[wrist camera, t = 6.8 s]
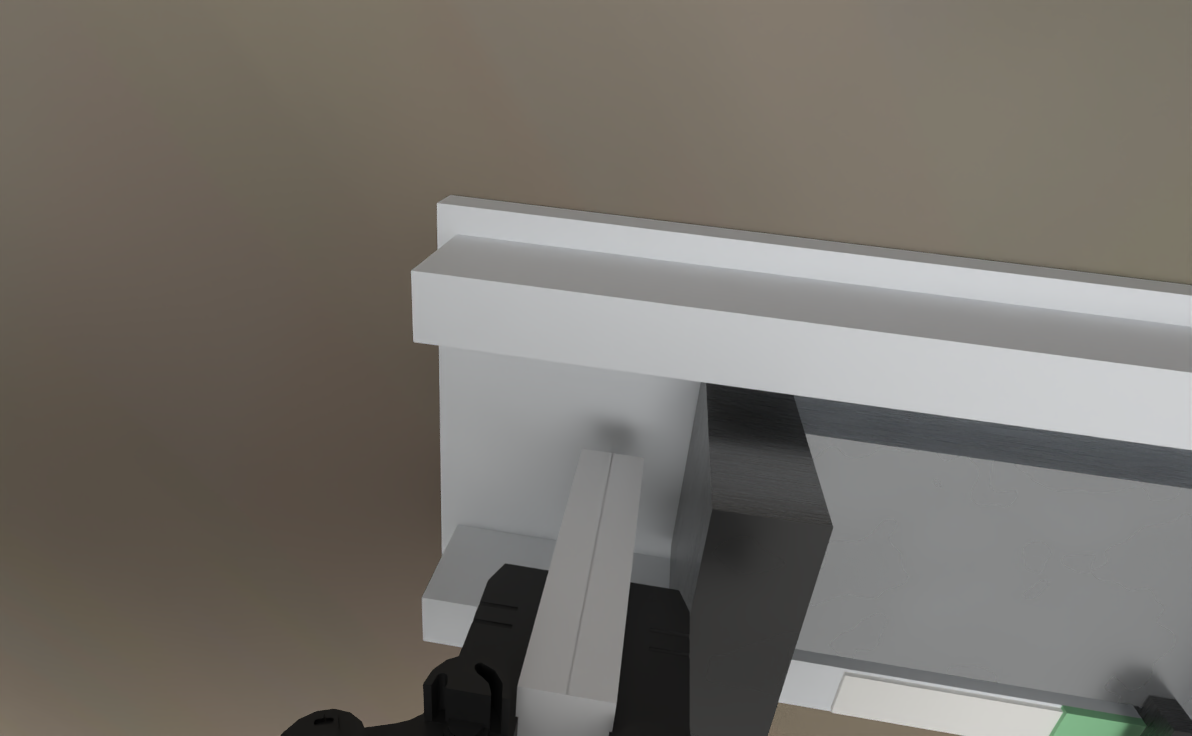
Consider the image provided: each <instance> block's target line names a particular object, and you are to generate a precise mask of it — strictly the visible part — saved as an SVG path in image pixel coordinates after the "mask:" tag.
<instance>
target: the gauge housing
mask: <svg viewBox="0 0 1192 736" xmlns="http://www.w3.org/2000/svg"><path fill="white" fill-rule="evenodd" d="M437 244H438V250H436V251H435V252H434V253H433V254H431V255H430V256H429V257H428V258H426V259H425V260H424V261H423V262H421V263H420V264H419V265H417V266H416V267H415V268H414V269H412V270H411V284H412V315H413V342H417V343H424V344H431V345H439V386H440V457H441V528H442V557H441V559H440V561H439V563H438V565H437V567H436V569H435V571H434V573H433V576H432V578H431V580H430V582H429V584H428V586H427V588H426V590H425V592H424V594H423V596H422V621H423V641H428V642H434V643H439V644H445V645H451V646H457V647H463V644H464V642H465V639H466V637H467V634H468V631H469V629H470V626H471V623H473V618H474V616H475V613H476V610H477V608H478V605H479V604H480V600H481V597H482V595H483V592H484V589H485V587H486V584H487V582H488V580H489V579H490V578H491V577H492V576H493V575H494V574H495V573H496V572H497V571H498V570H499V569H500V568H501V567H502V566H503V565H504V564H505V563H506V564H512V565H519V566H525V567H531V568H537V569H543V570H549V568H550V564H551V561H552V557H553V553H554V550H555V546H556V542H557V538H558V535H559V531H560V527H561V524H562V520H563V516H564V513H565V509H566V505H567V502H568V498H569V494H570V491H571V487H572V483H573V480H574V476H575V472H576V469H577V465H578V461H579V458H580V454H581V450H582V449H589V450H595V451H602V452H609V453H615V454H622V455H629V456H635V457H642V458H644V464H643V473H642V482H641V491H640V500H639V509H638V517H637V526H636V535H635V544H634V553H633V562H632V571H631V580H630V582H632V583H638V584H644V585H651V586H657V587H663V588H669V583H670V556H671V543H672V538H673V532H674V527H675V521H676V516H677V510H678V505H679V499H680V494H681V488H682V483H683V477H684V472H685V466H686V461H687V455H688V450H689V444H690V439H691V433H692V428H693V422H694V417H695V412H696V406H697V401H698V395H699V390H700V384H701V382H705V383H712V384H719V385H726V386H733V387H741V388H748V389H755V390H762V391H769V392H777V393H784V394H791V395H798V396H805V397H813V398H820V399H827V400H834V401H841V402H848V403H856V404H863V405H870V406H877V407H884V408H892V409H899V410H906V411H913V412H920V413H928V414H935V415H942V416H949V417H956V418H964V419H971V420H978V421H985V422H992V423H1000V424H1007V425H1014V426H1021V427H1028V428H1035V429H1043V430H1050V431H1057V432H1064V433H1071V434H1079V435H1086V436H1093V437H1100V438H1107V439H1115V440H1122V441H1129V442H1136V443H1143V444H1151V445H1158V446H1165V447H1172V448H1179V449H1186V450H1192V285H1187V284H1179V283H1170V282H1162V281H1154V280H1146V279H1138V278H1129V277H1121V276H1113V275H1105V274H1097V273H1088V272H1080V271H1072V270H1064V269H1055V268H1047V267H1039V266H1031V265H1023V264H1014V263H1006V262H998V261H990V260H981V259H973V258H965V257H957V256H949V255H940V254H932V253H924V252H916V251H908V250H899V249H891V248H883V247H875V246H866V245H858V244H850V243H842V242H834V241H825V240H817V239H809V238H801V237H792V236H784V235H776V234H768V233H760V232H751V231H743V230H735V229H727V228H718V227H710V226H702V225H694V224H686V223H677V222H669V221H661V220H653V219H645V218H636V217H628V216H620V215H612V214H603V213H595V212H587V211H579V210H571V209H562V208H554V207H546V206H538V205H529V204H521V203H513V202H505V201H497V200H488V199H480V198H472V197H464V196H455V195H449V196H448V197H446V198H444V199H443V200H441V201H439V202H438V203H437ZM778 702H780V703H786V704H792V705H798V706H803V707H809V708H815V709H821V710H826V711H831V713H837V714H842V715H848V716H854V717H860V718H865V719H871V720H877V721H883V722H889V723H894V724H900V725H906V726H912V727H917V728H923V729H929V730H935V731H941V732H946V733H952V734H958V735H964V736H1140V735H1141V733H1142V732H1143V731H1144V729H1145V728H1146V724H1145V723H1144V721H1143V720H1142V718H1141V717H1140V715H1139V714H1138V712H1137V711H1136V709H1135V708H1134V706H1133V705H1128V704H1122V703H1116V702H1110V701H1104V700H1098V699H1092V698H1086V697H1080V696H1074V695H1068V694H1062V693H1056V692H1050V691H1044V690H1038V689H1032V688H1026V687H1020V686H1014V685H1008V684H1002V683H996V682H990V681H984V680H978V679H972V678H966V677H960V676H954V675H948V674H942V673H936V672H930V671H924V670H918V669H912V668H906V667H900V666H894V665H888V664H882V663H876V662H870V661H864V660H858V659H852V658H846V657H840V656H834V655H828V654H822V653H816V652H810V651H804V650H798V649H795V650H794V654H793V657H792V660H791V663H790V666H789V669H788V673H787V676H786V679H785V682H784V685H783V688H782V692H781V695H780V698H779V701H778ZM1187 715H1188V714H1187ZM1188 716H1189V717H1190V719H1191V720H1192V715H1188Z"/></svg>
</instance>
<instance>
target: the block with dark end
mask: <svg viewBox="0 0 1192 736" xmlns="http://www.w3.org/2000/svg"><path fill="white" fill-rule="evenodd" d="M669 589H675V590H679V591H680V593H681V595H682V597H683V599H684V601H685V603H686V605H687V607H688V609H689V611H690V636H689V639H690V654H689V658H690V734H691V736H768V733H769V730H770V726H771V723H772V720H773V717H774V714H775V711H776V707H777V704H778V701H779V698H780V695H781V692H782V688H783V685H784V682H785V679H786V676H787V673H788V669H789V666H790V663H791V660H792V657H793V654H794V650H795V649H798V650H804V651H810V652H816V653H822V654H828V655H834V656H840V657H846V658H852V659H858V660H864V661H870V662H876V663H882V664H888V665H894V666H900V667H906V668H912V669H918V670H924V671H930V672H936V673H942V674H948V675H954V676H960V677H966V678H972V679H978V680H984V681H990V682H996V683H1002V684H1008V685H1014V686H1020V687H1026V688H1032V689H1038V690H1044V691H1050V692H1056V693H1062V694H1068V695H1074V696H1080V697H1086V698H1092V699H1098V700H1104V701H1110V702H1116V703H1122V704H1128V705H1133V706H1134V708H1135V709H1136V711H1137V712H1138V714H1139V715H1140V717H1141V718H1142V720H1143V721H1144V723H1145V724H1146V728H1145V729H1144V731H1143V732H1142V733H1141V735H1140V736H1192V720H1191V719H1190V717H1189V716H1188V715H1192V450H1186V449H1179V448H1172V447H1165V446H1158V445H1151V444H1143V443H1136V442H1129V441H1122V440H1115V439H1107V438H1100V437H1093V436H1086V435H1079V434H1071V433H1064V432H1057V431H1050V430H1043V429H1035V428H1028V427H1021V426H1014V425H1007V424H1000V423H992V422H985V421H978V420H971V419H964V418H956V417H949V416H942V415H935V414H928V413H920V412H913V411H906V410H899V409H892V408H884V407H877V406H870V405H863V404H856V403H848V402H841V401H834V400H827V399H820V398H813V397H805V396H798V395H791V394H784V393H777V392H769V391H762V390H755V389H748V388H741V387H733V386H726V385H719V384H712V383H705V382H701V384H700V390H699V395H698V401H697V406H696V412H695V417H694V422H693V428H692V433H691V439H690V444H689V450H688V455H687V461H686V466H685V472H684V477H683V483H682V488H681V494H680V499H679V505H678V510H677V516H676V521H675V527H674V532H673V538H672V543H671V556H670V583H669ZM1187 714H1188V715H1187Z"/></svg>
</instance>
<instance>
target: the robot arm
mask: <svg viewBox="0 0 1192 736" xmlns="http://www.w3.org/2000/svg"><path fill="white" fill-rule="evenodd" d="M643 464H644V458H642V457H635V456H629V455H622V454H615V453H609V452H602V451H595V450H589V449H582V450H581V454H580V458H579V461H578V465H577V469H576V472H575V476H574V480H573V483H572V487H571V491H570V494H569V498H568V502H567V505H566V509H565V513H564V516H563V520H562V524H561V527H560V531H559V535H558V538H557V542H556V546H555V550H554V553H553V557H552V561H551V564H550V568H549V570H543V569H537V568H531V567H525V566H519V565H512V564H506V563H505V564H504V565H503V566H502V567H501V568H500V569H499V570H498V571H497V572H496V573H495V574H494V575H493V576H492V577H491V578H490V579H489V580H488V582H487V584H486V587H485V589H484V592H483V595H482V597H481V600H480V604H479V605H478V608H477V610H476V613H475V616H474V618H473V623H471V626H470V629H469V631H468V634H467V637H466V639H465V642H464V644H463V647H462V650H461V652H460V655H459V656H458V657H455V658H452V659H449V660H446V661H445V662H443V663H442V664H440V665H439V666H438V667H436V668H435V669H433V670H432V672H431V673H430V675H429V676H428V678H427V679H426V681H425V682H424V684H423V692H424V713H423V714H422V715H420V716H417V717H415V718H413V719H411V720H408V721H404V722H400V723H395V724H388V725H381V726H374V727H366V728H364V726H363V724H362V721H360V720H359V719H358V718H357V717H355V716H354V715H353V714H351V713H350V712H346V711H342V710H337V709H330V710H322V711H316V712H314V713H312V714H309V715H307V716H305V717H303V718H301V719H299V720H297V721H296V722H295V723H294V724H293V725H291V726H290V727H289V728H288V729H287V730H286V731H284V732H283V733H282V734H281V736H691V734H690V658H689V654H690V639H689V636H690V611H689V609H688V607H687V605H686V603H685V601H684V599H683V597H682V595H681V593H680V591H679V590H675V589H669V588H663V587H657V586H651V585H644V584H638V583H632V582H630V580H631V571H632V562H633V553H634V544H635V535H636V526H637V517H638V509H639V500H640V491H641V482H642V473H643Z"/></svg>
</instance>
